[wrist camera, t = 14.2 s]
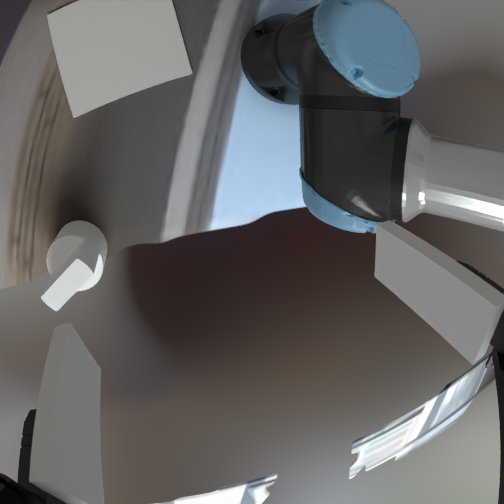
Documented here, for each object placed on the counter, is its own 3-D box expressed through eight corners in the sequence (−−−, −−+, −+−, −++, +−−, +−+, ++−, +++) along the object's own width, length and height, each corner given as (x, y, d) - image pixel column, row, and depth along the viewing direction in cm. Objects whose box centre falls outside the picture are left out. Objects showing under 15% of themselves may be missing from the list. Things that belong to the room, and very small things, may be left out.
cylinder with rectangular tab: (79, 208, 43) (61, 240, 32) (118, 247, 47) (112, 287, 37) (46, 245, 43) (23, 284, 33) (83, 281, 48) (72, 325, 37)
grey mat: (163, -27, 30) (164, -28, 30) (191, 73, 39) (192, 73, 39) (48, 16, 27) (46, 15, 27) (74, 118, 37) (73, 118, 36)
